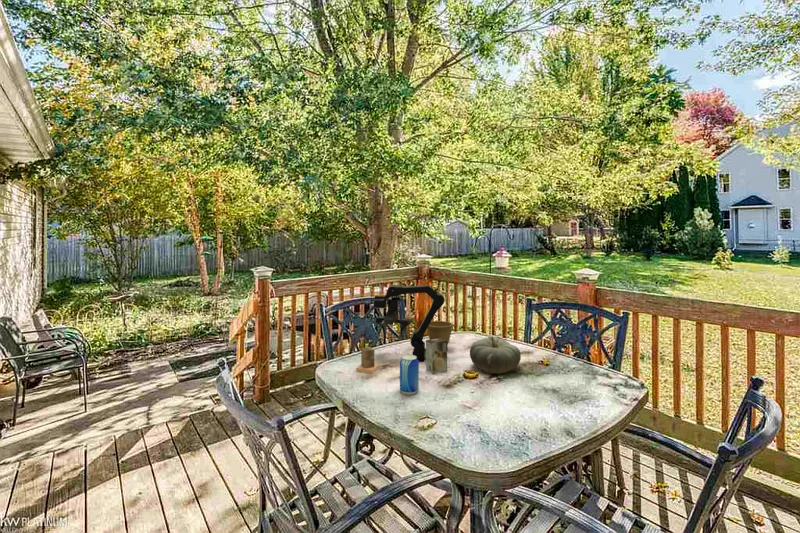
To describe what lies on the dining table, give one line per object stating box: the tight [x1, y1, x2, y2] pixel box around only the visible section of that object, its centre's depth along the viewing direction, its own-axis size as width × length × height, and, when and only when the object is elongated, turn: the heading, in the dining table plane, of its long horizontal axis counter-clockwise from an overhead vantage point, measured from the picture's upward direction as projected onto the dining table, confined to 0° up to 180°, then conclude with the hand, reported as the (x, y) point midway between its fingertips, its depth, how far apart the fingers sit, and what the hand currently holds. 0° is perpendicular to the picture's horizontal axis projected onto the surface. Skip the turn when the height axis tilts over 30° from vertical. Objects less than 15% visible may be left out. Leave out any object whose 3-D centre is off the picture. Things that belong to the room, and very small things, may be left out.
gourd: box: [469, 335, 522, 375], centre depth 214 cm, size 25×25×17 cm
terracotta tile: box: [355, 363, 380, 375], centre depth 213 cm, size 9×9×2 cm
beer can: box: [399, 354, 420, 396], centre depth 185 cm, size 8×8×16 cm
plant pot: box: [426, 320, 453, 347], centre depth 244 cm, size 15×15×16 cm
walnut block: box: [360, 346, 375, 368], centre depth 213 cm, size 5×5×9 cm
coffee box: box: [425, 338, 448, 375], centre depth 211 cm, size 9×6×16 cm
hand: (393, 336), depth 228 cm, fingers open, 9 cm apart
